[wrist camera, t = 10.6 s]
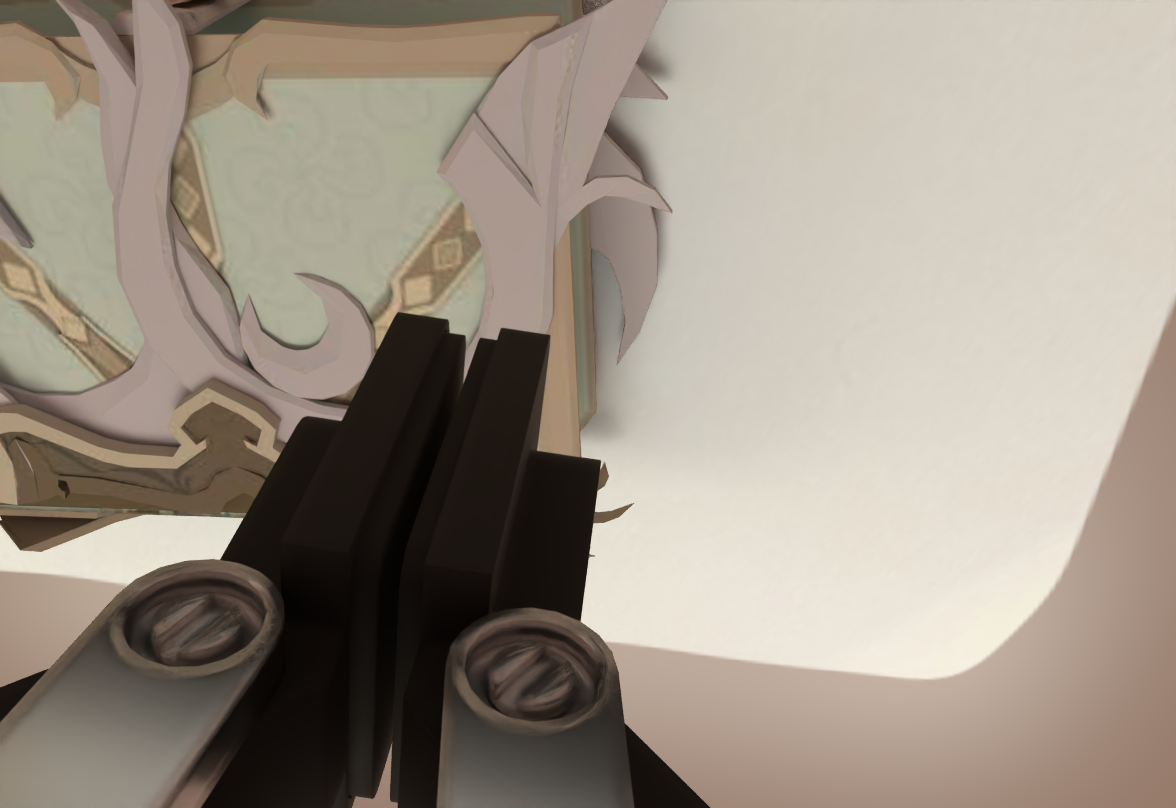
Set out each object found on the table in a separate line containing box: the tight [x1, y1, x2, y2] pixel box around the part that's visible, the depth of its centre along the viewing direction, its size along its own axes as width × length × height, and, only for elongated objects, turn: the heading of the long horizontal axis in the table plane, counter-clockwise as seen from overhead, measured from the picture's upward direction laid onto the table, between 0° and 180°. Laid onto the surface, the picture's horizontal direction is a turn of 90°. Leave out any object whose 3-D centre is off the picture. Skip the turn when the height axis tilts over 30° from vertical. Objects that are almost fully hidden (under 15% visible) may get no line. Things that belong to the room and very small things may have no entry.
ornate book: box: [0, 0, 672, 557], centre depth 39 cm, size 23×10×30 cm
